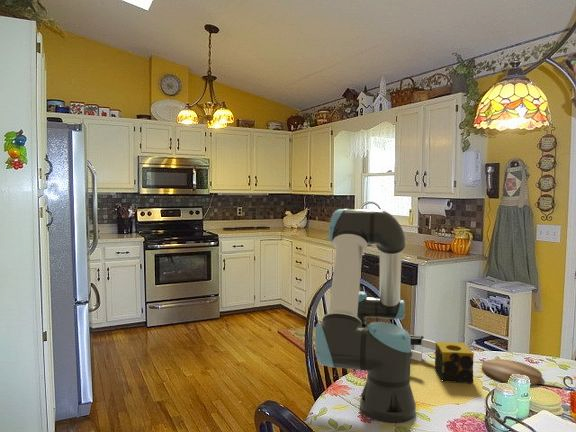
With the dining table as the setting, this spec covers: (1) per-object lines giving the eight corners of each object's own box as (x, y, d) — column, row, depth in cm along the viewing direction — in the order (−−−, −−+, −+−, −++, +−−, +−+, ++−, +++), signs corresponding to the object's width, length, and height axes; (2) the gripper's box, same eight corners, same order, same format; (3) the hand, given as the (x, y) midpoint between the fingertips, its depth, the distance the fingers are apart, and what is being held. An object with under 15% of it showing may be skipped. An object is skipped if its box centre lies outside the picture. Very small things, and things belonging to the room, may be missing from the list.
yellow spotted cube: (464, 371, 147) (465, 342, 146) (474, 384, 137) (475, 353, 136) (434, 369, 148) (434, 341, 147) (441, 382, 138) (442, 351, 137)
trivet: (533, 391, 132) (533, 386, 132) (473, 373, 145) (473, 369, 144) (548, 374, 145) (548, 369, 145) (492, 359, 158) (492, 355, 157)
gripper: (393, 339, 172) (445, 353, 157) (358, 355, 154) (413, 372, 139) (394, 320, 171) (446, 333, 157) (358, 334, 153) (413, 350, 139)
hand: (430, 351), depth 148 cm, fingers open, 13 cm apart
